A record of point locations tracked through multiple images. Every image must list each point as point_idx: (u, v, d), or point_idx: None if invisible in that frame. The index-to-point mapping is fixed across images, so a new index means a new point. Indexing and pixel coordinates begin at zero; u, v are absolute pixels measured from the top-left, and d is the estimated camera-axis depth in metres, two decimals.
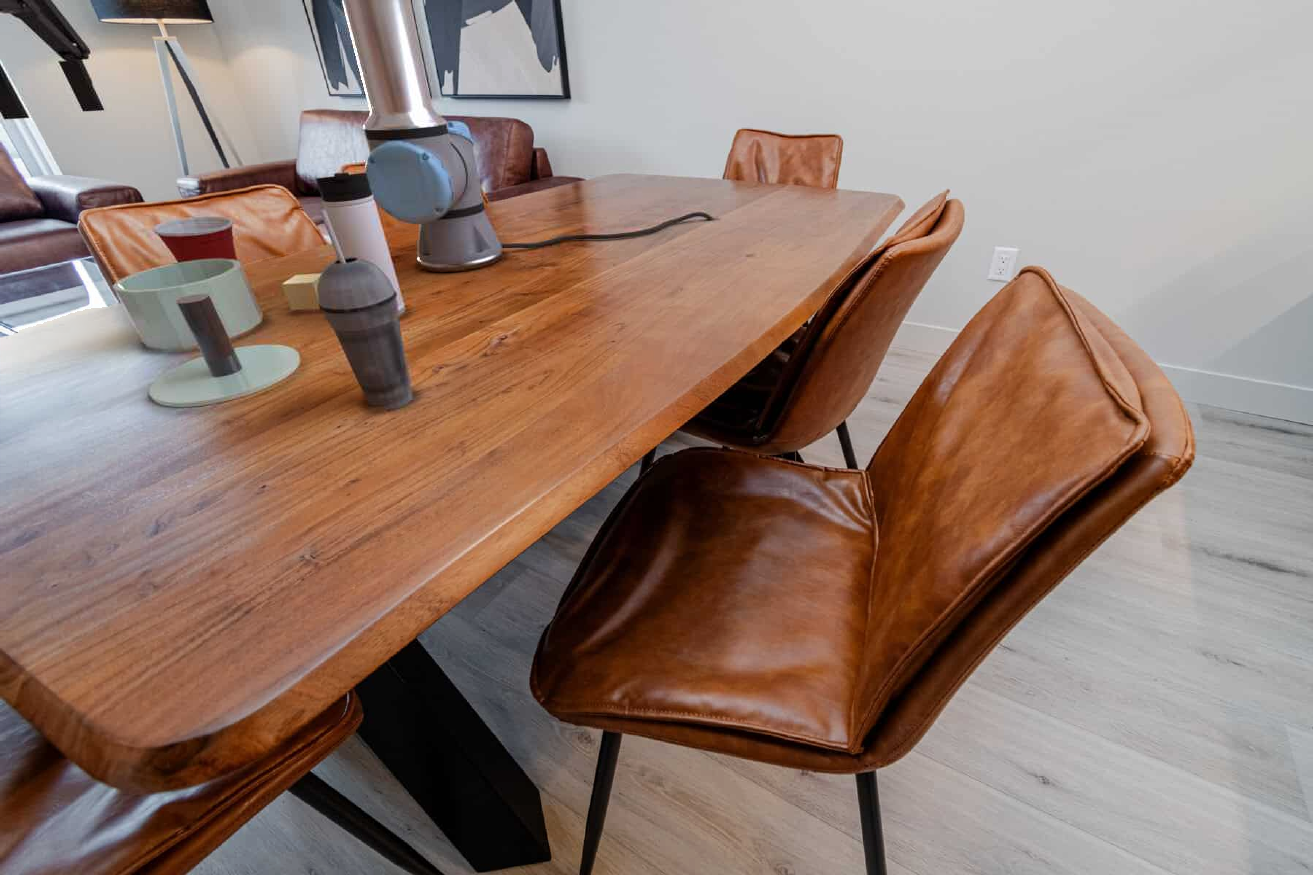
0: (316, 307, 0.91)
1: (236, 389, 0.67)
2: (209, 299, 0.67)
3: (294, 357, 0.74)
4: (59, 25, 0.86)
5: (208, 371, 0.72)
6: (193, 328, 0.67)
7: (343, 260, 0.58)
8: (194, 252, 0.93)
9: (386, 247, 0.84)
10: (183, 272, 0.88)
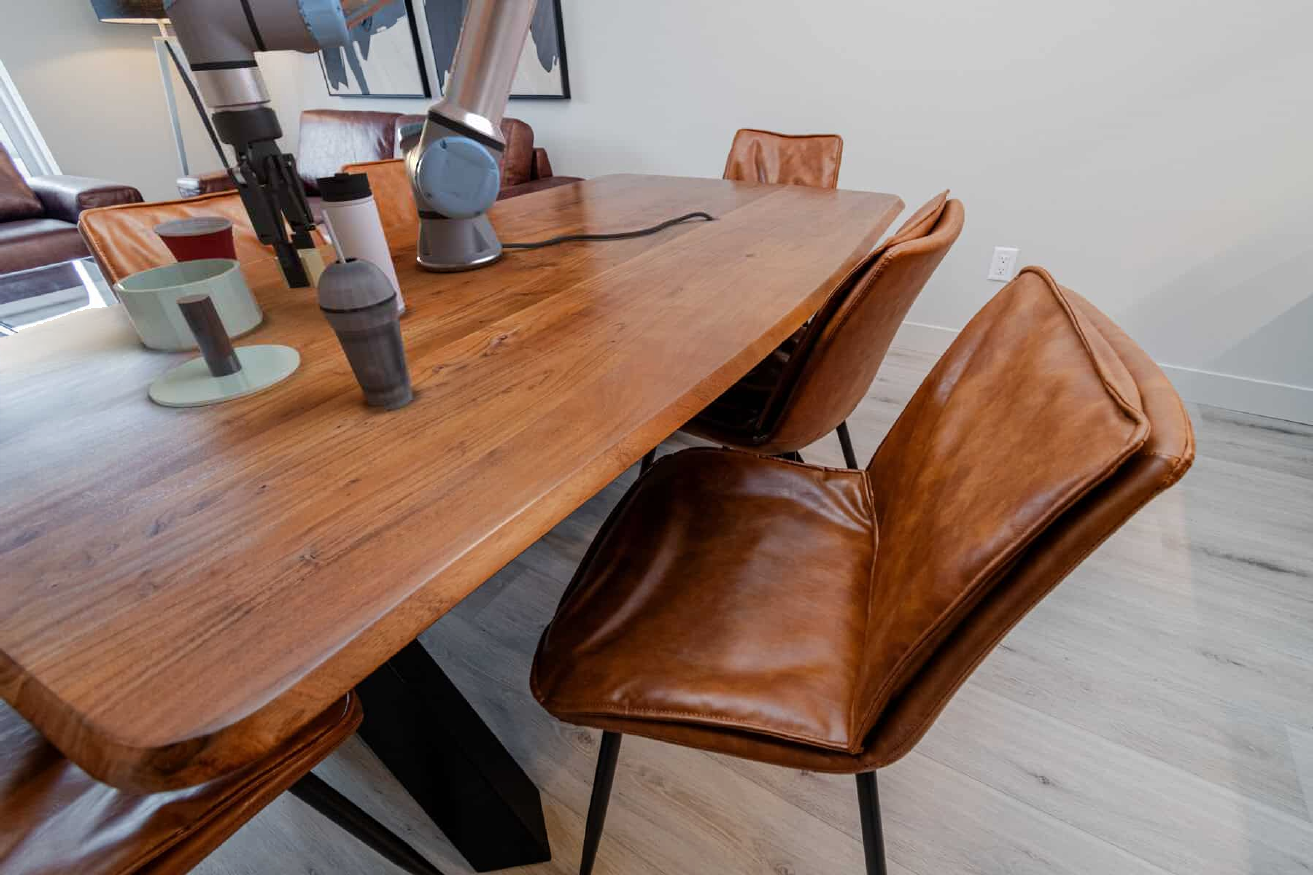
0: (309, 282, 0.89)
1: (236, 389, 0.67)
2: (209, 299, 0.67)
3: (294, 357, 0.74)
4: (297, 195, 0.89)
5: (208, 371, 0.72)
6: (193, 328, 0.67)
7: (343, 260, 0.58)
8: (194, 252, 0.93)
9: (386, 247, 0.84)
10: (183, 272, 0.88)
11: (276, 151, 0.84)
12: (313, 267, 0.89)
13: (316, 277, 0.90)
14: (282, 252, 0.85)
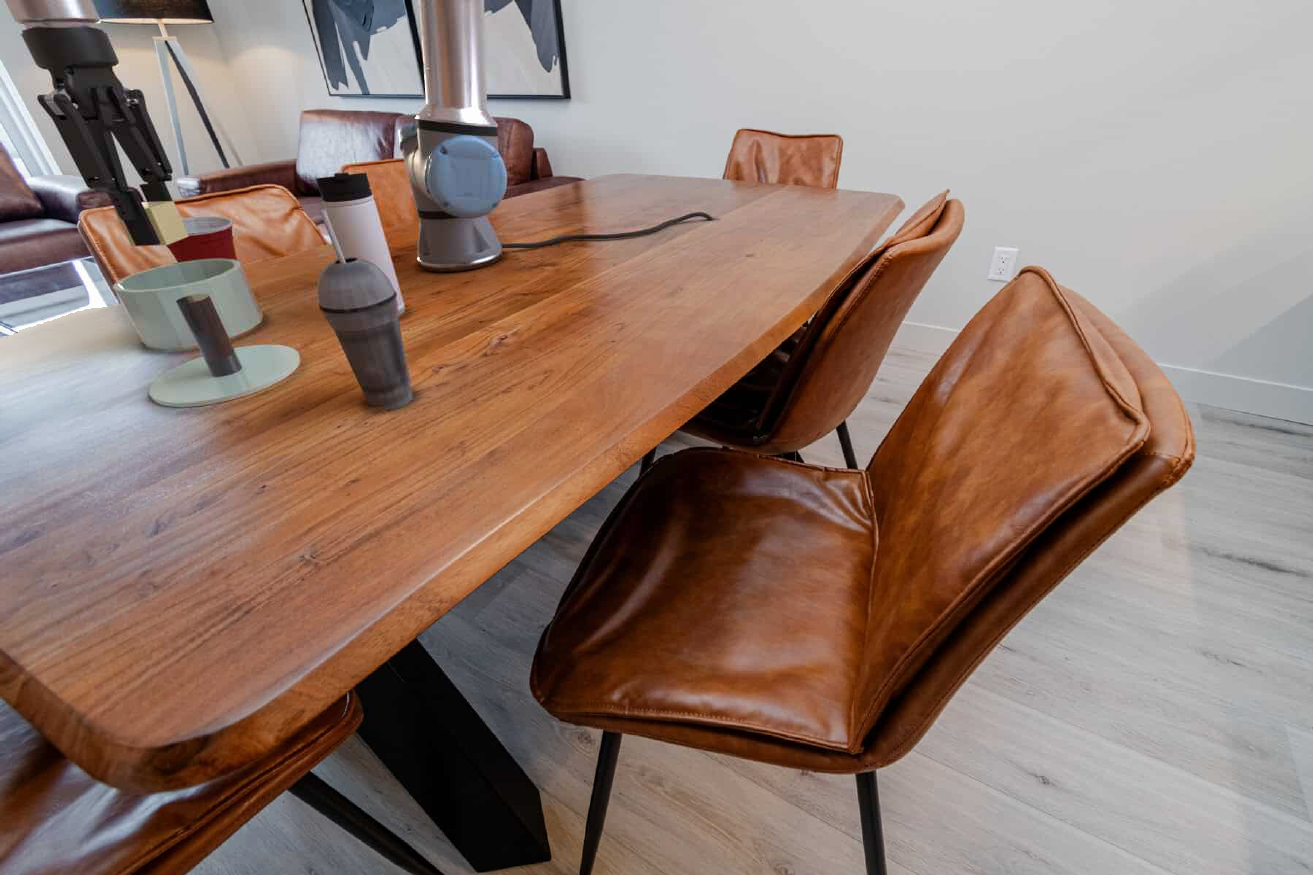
0: None
1: (236, 389, 0.67)
2: (209, 299, 0.67)
3: (294, 357, 0.74)
4: (148, 140, 0.78)
5: (208, 371, 0.72)
6: (193, 328, 0.67)
7: (343, 260, 0.58)
8: (194, 252, 0.93)
9: (386, 247, 0.84)
10: (183, 272, 0.88)
11: (114, 84, 0.72)
12: (163, 222, 0.77)
13: (168, 233, 0.78)
14: (119, 201, 0.73)
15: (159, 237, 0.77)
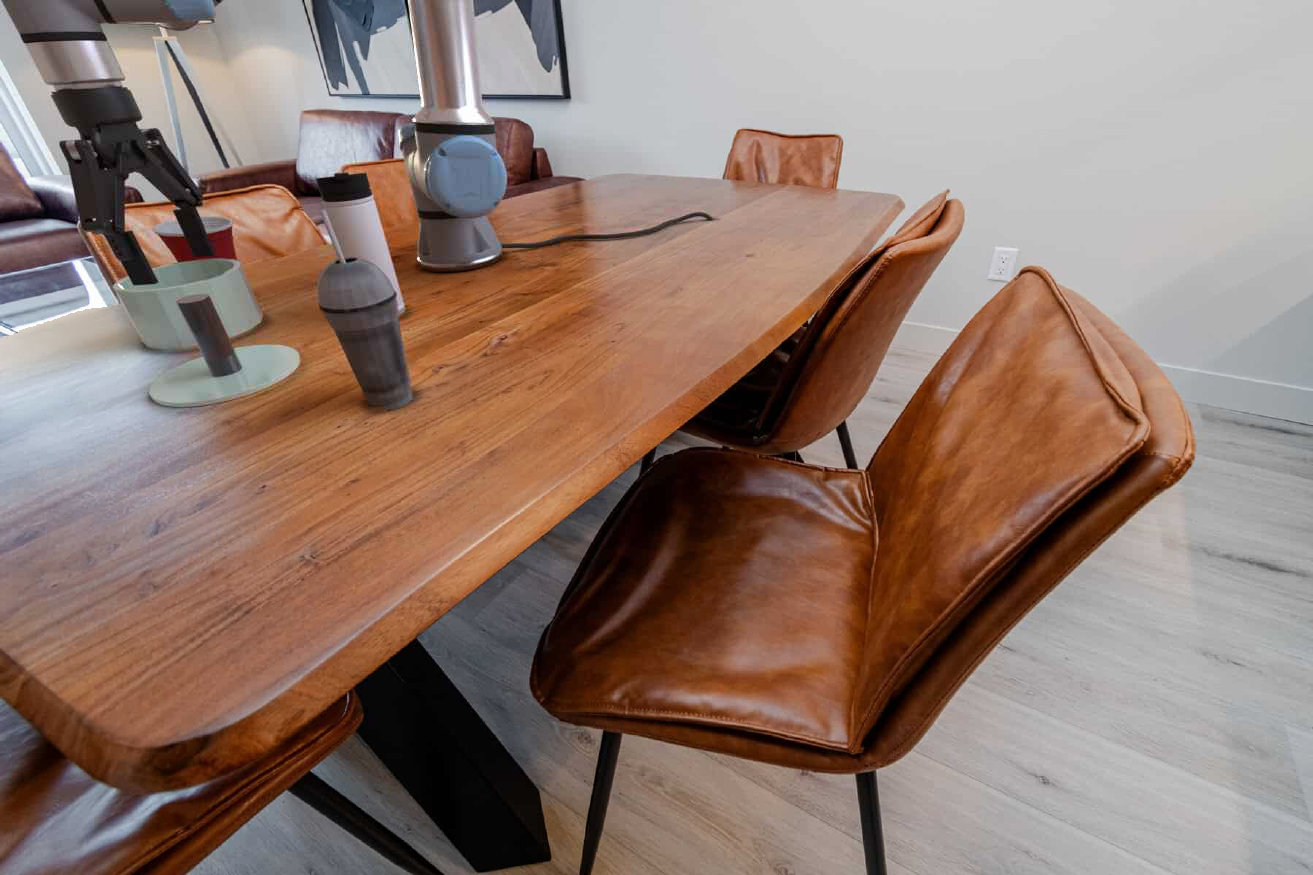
0: None
1: (236, 389, 0.67)
2: (209, 299, 0.67)
3: (294, 357, 0.74)
4: (176, 174, 0.82)
5: (208, 371, 0.72)
6: (193, 328, 0.67)
7: (343, 260, 0.58)
8: None
9: (386, 247, 0.84)
10: (183, 272, 0.88)
11: (138, 138, 0.75)
12: None
13: None
14: (116, 242, 0.72)
15: None
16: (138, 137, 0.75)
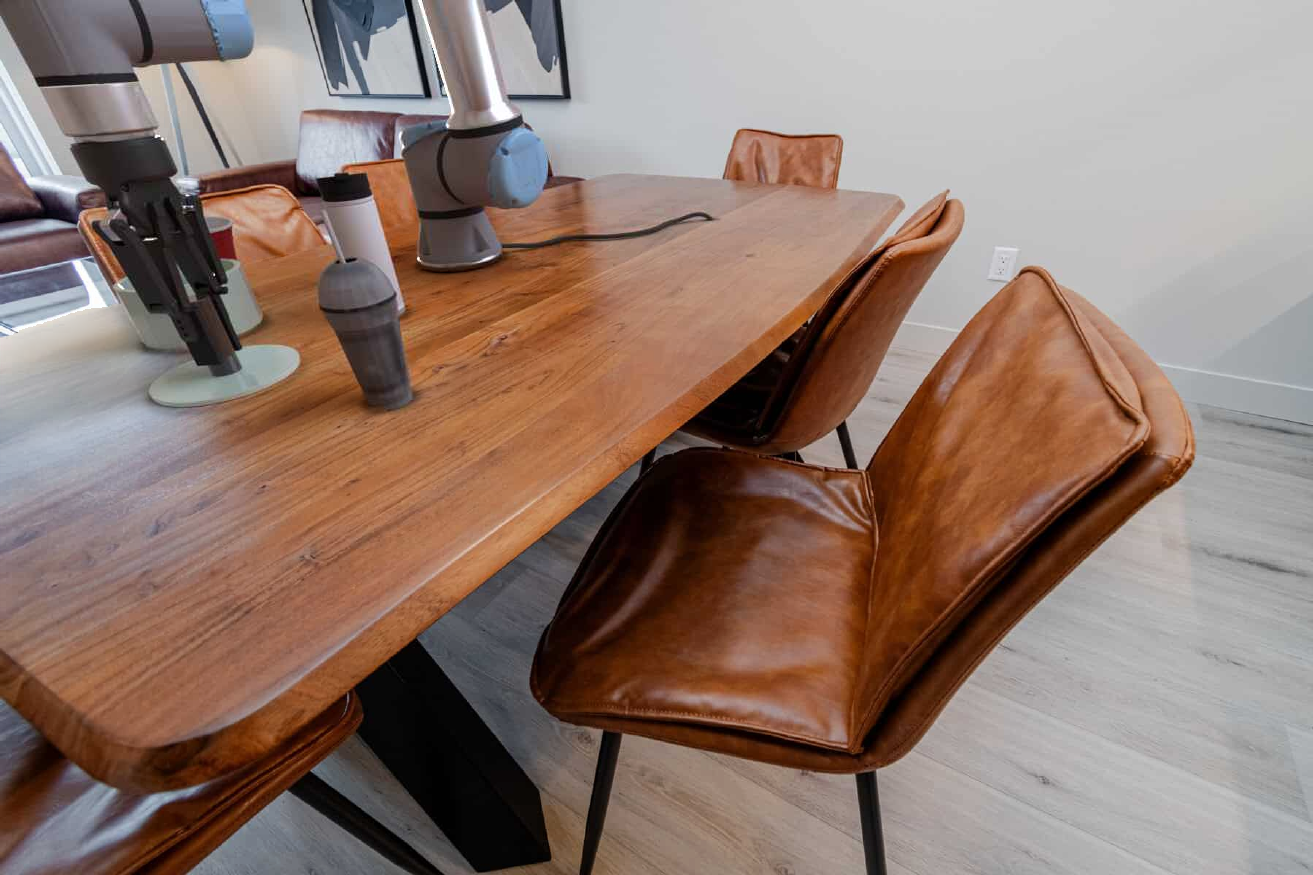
0: None
1: (236, 389, 0.67)
2: (209, 299, 0.67)
3: (294, 357, 0.74)
4: (203, 249, 0.68)
5: (208, 371, 0.72)
6: None
7: (343, 260, 0.58)
8: None
9: (386, 247, 0.84)
10: None
11: (171, 191, 0.63)
12: None
13: None
14: (182, 323, 0.65)
15: None
16: (171, 191, 0.63)
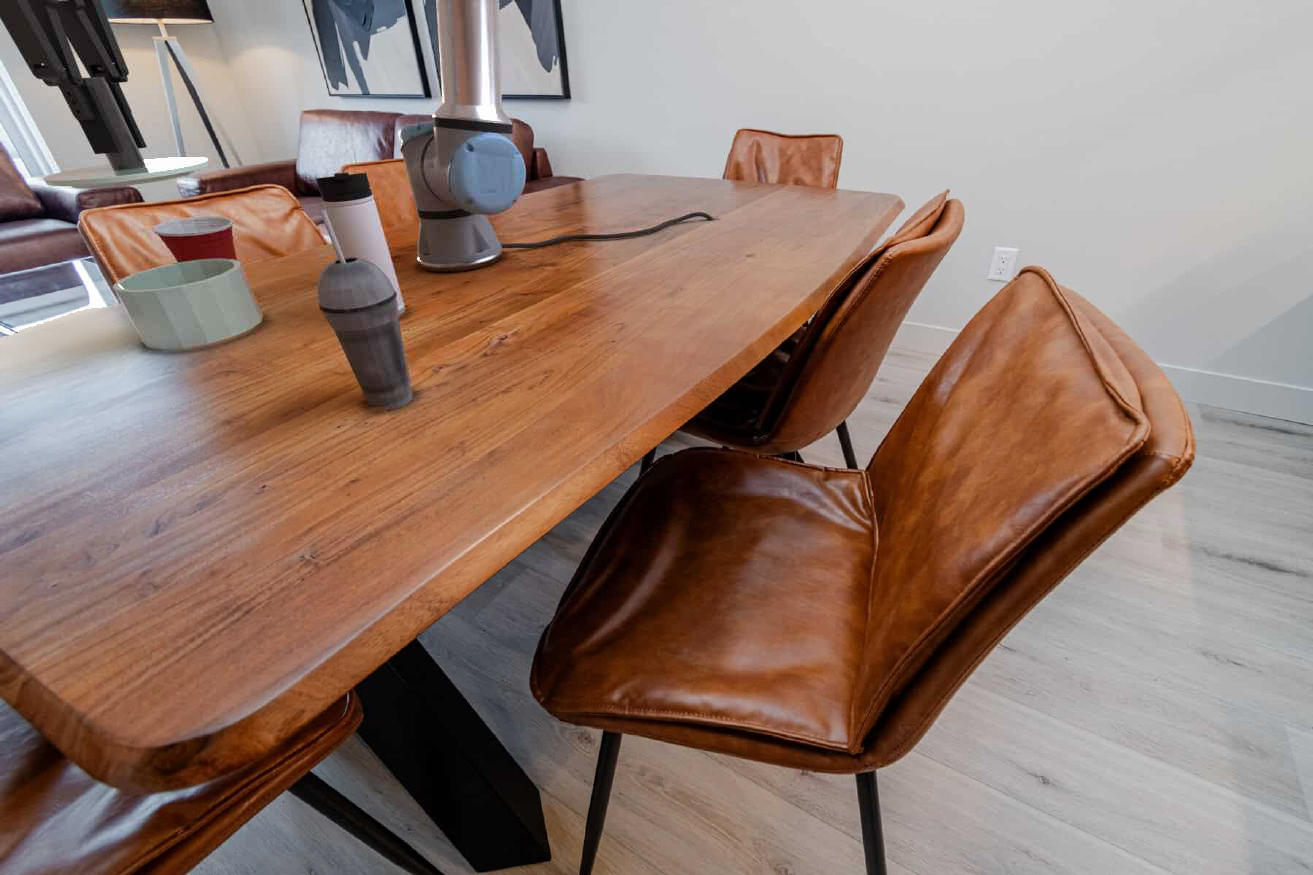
0: None
1: (134, 173, 0.65)
2: (104, 80, 0.65)
3: (202, 160, 0.72)
4: (99, 31, 0.66)
5: (110, 168, 0.70)
6: None
7: (343, 260, 0.58)
8: (194, 252, 0.93)
9: (386, 247, 0.84)
10: (183, 272, 0.88)
11: None
12: None
13: None
14: (73, 96, 0.63)
15: None
16: None
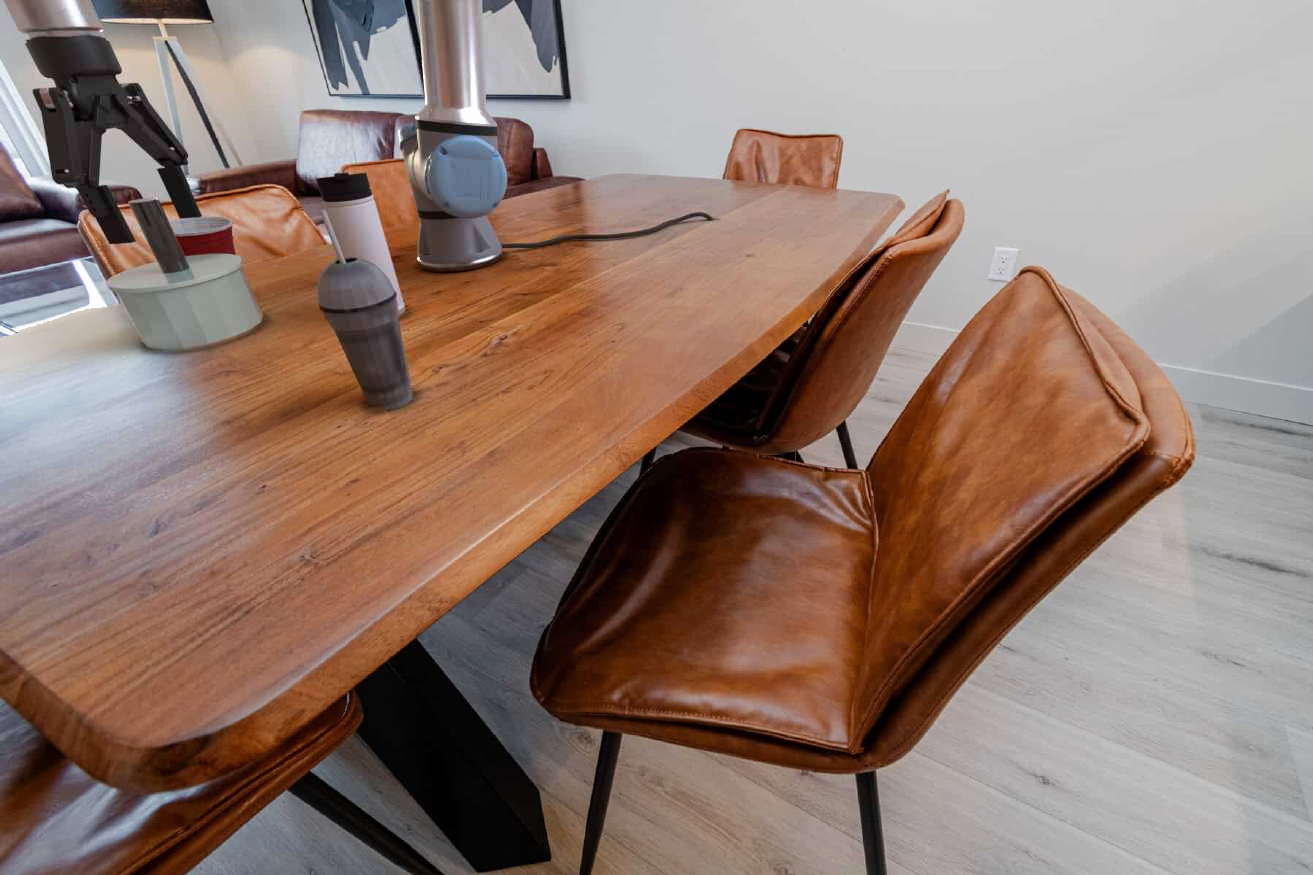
0: None
1: (181, 280, 0.77)
2: (158, 201, 0.77)
3: (237, 260, 0.84)
4: (159, 131, 0.79)
5: (160, 270, 0.82)
6: (144, 227, 0.77)
7: (343, 260, 0.58)
8: (194, 252, 0.93)
9: (386, 247, 0.84)
10: None
11: (118, 93, 0.73)
12: None
13: None
14: (90, 197, 0.69)
15: None
16: (118, 92, 0.73)
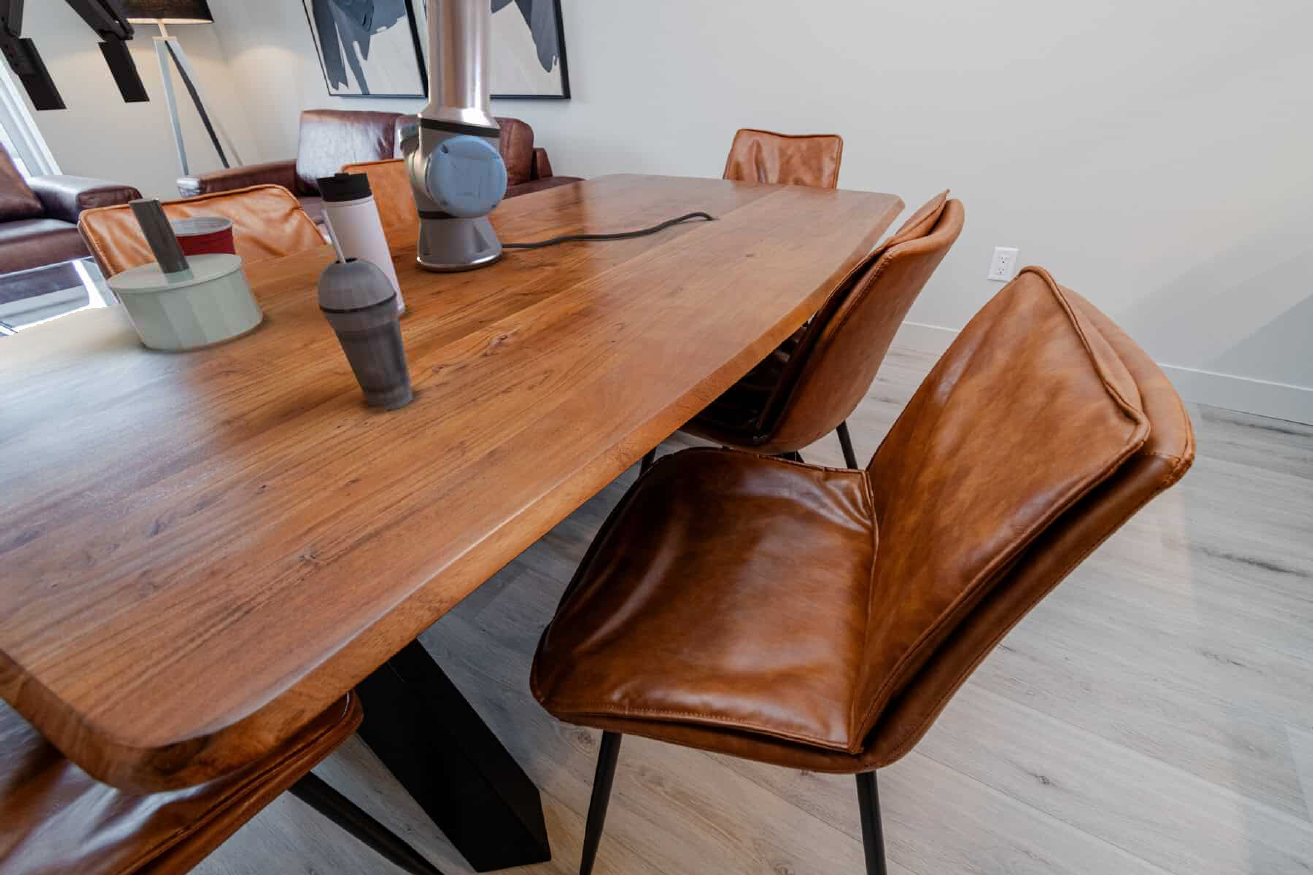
0: None
1: (181, 280, 0.77)
2: (158, 201, 0.77)
3: (237, 260, 0.84)
4: None
5: (160, 270, 0.82)
6: (144, 227, 0.77)
7: (343, 260, 0.58)
8: (194, 252, 0.93)
9: (386, 247, 0.84)
10: None
11: None
12: None
13: None
14: (10, 49, 0.61)
15: None
16: None
